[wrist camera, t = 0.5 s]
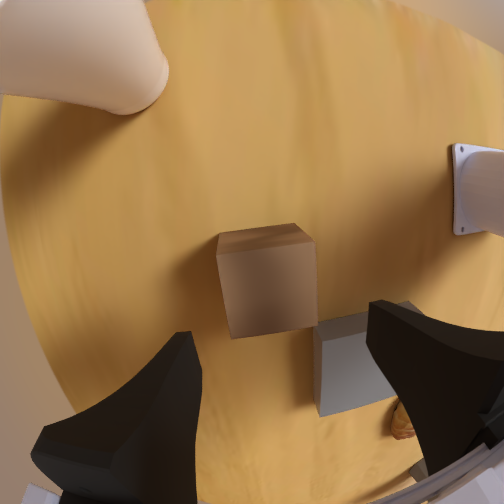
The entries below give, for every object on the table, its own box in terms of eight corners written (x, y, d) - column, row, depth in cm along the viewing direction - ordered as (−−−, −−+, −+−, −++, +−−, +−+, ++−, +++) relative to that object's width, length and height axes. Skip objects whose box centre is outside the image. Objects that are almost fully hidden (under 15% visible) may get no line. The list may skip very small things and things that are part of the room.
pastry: (417, 423, 28) (428, 441, 25) (378, 436, 28) (387, 456, 24) (442, 376, 26) (457, 394, 22) (400, 389, 25) (414, 411, 22)
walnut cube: (293, 222, 19) (314, 241, 14) (298, 290, 20) (318, 325, 15) (219, 232, 19) (215, 255, 14) (230, 300, 20) (231, 339, 15)
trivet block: (406, 299, 22) (424, 314, 19) (393, 373, 24) (405, 391, 22) (311, 320, 21) (322, 341, 19) (312, 395, 24) (319, 417, 21)
